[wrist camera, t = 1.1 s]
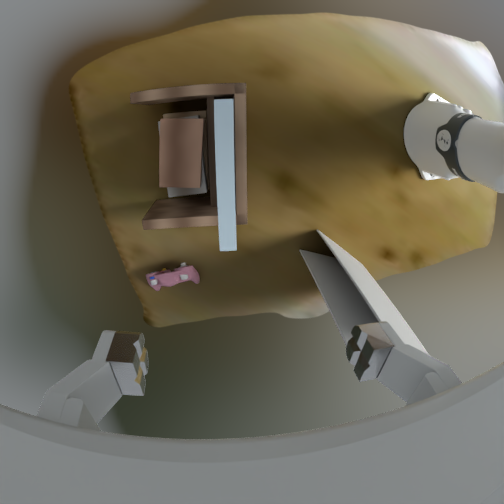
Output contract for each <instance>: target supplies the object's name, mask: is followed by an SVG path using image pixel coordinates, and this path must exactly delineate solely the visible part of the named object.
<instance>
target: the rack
mask: <svg viewBox="0 0 504 504" xmlns="http://www.w3.org/2000/svg"><path fill="white" fill-rule="evenodd" d="M222 98H232V99H233V107H234V168H235V210H236V225H240V224H247V142H246V83H221V84H202V85H189V86H178V87H169V88H161V89H153V90H146V91H140V92H134V93H130V100H131V104H144V105H152V104H160V103H168V102H178V101H189V100H203V99H207V127H208V156H209V179H210V196H209V197H191V198H176V199H163V200H156V201H155V202H154V204H153V205H152V207H151V208H150V209H149V211H148V212H147V214H146V215H145V217H144V218H143V220H142V224H143V230H148V229H163V228H180V227H198V226H218V207H217V185H216V160H215V127H214V100H215V99H222Z"/></svg>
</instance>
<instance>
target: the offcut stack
mask: <svg viewBox="0 0 504 504" xmlns="http://www.w3.org/2000/svg"><path fill="white" fill-rule="evenodd" d="M158 127H159V135H160V146H159V187H167V190H168V196H169V197H177V196H184V195H192V194H200V193H207V190H209V187H210V179H209V156H208V127H207V111H191V112H179V113H169V114H163V119H160V121H158Z"/></svg>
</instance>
